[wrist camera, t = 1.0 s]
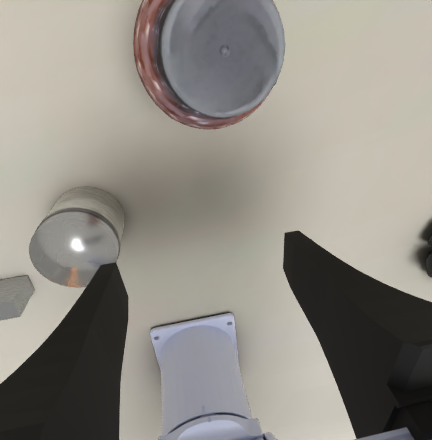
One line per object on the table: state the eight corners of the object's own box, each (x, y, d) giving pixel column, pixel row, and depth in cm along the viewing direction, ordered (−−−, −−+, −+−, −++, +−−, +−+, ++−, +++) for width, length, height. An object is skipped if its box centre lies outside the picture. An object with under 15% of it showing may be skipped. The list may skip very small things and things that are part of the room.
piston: (132, 240, 25) (126, 279, 20) (66, 252, 24) (46, 294, 20) (115, 180, 22) (105, 210, 18) (42, 192, 22) (13, 225, 18)
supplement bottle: (127, 78, 20) (95, 99, 10) (162, -28, 17) (168, -139, 8) (212, 119, 22) (258, 172, 12) (253, 28, 19) (352, -1, 10)
